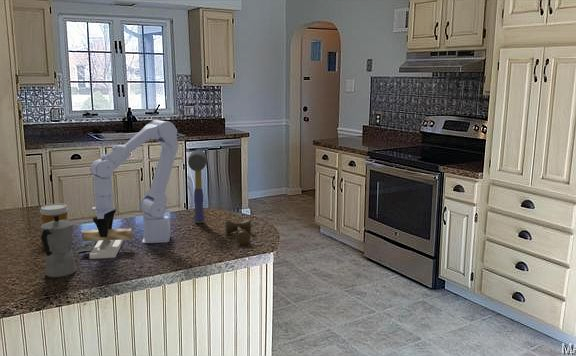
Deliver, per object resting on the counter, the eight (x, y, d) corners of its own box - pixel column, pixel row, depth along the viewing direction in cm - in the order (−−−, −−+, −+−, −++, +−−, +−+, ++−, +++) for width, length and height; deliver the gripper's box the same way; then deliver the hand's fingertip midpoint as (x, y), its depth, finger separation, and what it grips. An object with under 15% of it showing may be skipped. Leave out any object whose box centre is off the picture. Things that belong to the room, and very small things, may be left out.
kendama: (230, 247, 174) (223, 229, 193) (256, 246, 176) (247, 228, 195) (230, 231, 173) (223, 214, 192) (257, 230, 175) (247, 214, 194)
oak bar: (132, 236, 170) (131, 228, 169) (130, 239, 167) (130, 231, 167) (84, 238, 167) (83, 230, 167) (81, 241, 165) (81, 232, 164)
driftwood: (91, 254, 166) (91, 248, 165) (71, 254, 165) (70, 248, 164) (106, 235, 186) (105, 230, 185) (87, 236, 185) (87, 230, 185)
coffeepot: (56, 263, 156) (51, 209, 152) (85, 263, 155) (81, 209, 152) (30, 283, 140) (24, 223, 137) (62, 283, 140) (57, 223, 137)
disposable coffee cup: (55, 232, 186) (52, 202, 184) (76, 235, 183) (73, 204, 181) (36, 240, 177) (33, 208, 175) (58, 243, 174) (55, 210, 172)
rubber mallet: (207, 226, 195) (206, 153, 190) (189, 227, 195) (186, 153, 189) (208, 218, 208) (207, 148, 202) (191, 218, 207) (189, 148, 201)
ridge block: (123, 241, 176) (122, 231, 176) (115, 257, 161) (114, 246, 160) (100, 242, 175) (99, 232, 174) (89, 258, 160) (88, 247, 159)
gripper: (95, 190, 171) (98, 227, 173) (85, 200, 156) (88, 240, 159) (116, 189, 172) (119, 226, 174) (108, 199, 158) (111, 239, 160)
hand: (106, 233), depth 167 cm, fingers open, 7 cm apart
